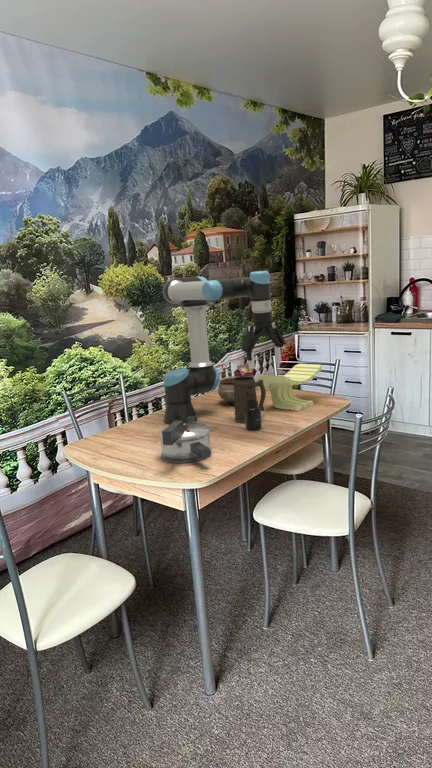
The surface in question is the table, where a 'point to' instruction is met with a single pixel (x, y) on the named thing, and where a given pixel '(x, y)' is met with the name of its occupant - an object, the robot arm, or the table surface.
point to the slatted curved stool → (290, 386)
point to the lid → (183, 431)
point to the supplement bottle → (253, 416)
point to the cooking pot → (226, 389)
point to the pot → (187, 450)
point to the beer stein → (246, 395)
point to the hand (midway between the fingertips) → (265, 366)
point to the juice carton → (243, 371)
